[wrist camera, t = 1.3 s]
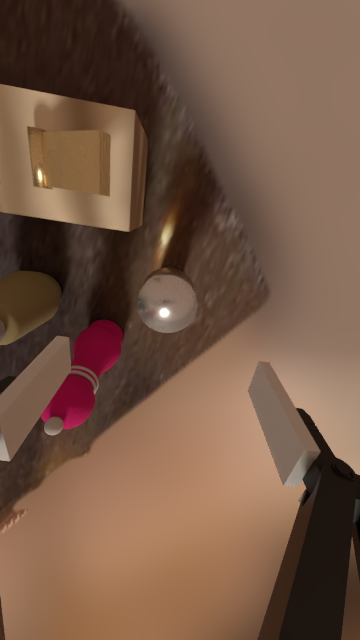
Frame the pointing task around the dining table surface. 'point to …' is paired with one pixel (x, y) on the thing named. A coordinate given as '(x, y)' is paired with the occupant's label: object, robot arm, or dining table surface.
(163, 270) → the silver capsule
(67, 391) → the pepper mill
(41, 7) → the dining table surface
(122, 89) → the dining table surface
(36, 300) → the squeeze bottle
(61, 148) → the brass latch
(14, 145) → the maple block
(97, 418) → the dining table surface
